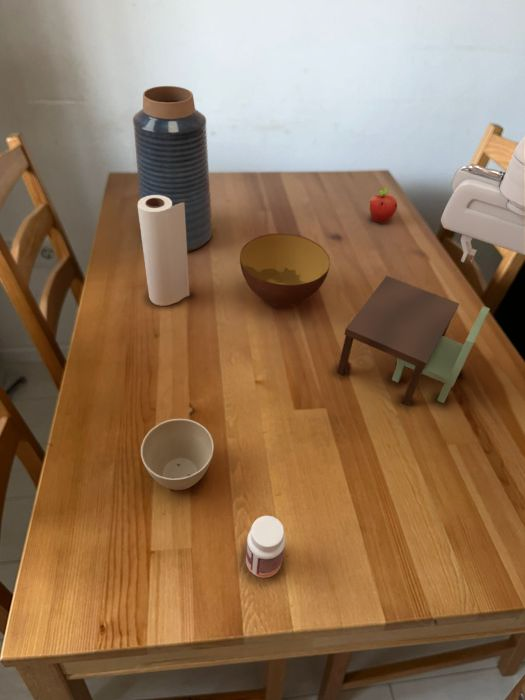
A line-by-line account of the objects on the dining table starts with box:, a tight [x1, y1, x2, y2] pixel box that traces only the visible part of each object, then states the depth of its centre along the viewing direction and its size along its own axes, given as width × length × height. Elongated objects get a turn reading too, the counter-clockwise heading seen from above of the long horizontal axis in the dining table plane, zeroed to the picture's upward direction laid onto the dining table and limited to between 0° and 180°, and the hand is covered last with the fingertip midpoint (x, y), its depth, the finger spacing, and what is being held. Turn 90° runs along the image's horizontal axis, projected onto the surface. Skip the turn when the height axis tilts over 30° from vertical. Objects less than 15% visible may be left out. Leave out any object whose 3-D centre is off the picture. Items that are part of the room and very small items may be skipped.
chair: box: [391, 305, 491, 404], centre depth 88 cm, size 10×10×15 cm
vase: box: [132, 85, 213, 252], centre depth 111 cm, size 16×16×32 cm
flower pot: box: [140, 418, 215, 491], centre depth 73 cm, size 10×10×7 cm
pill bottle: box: [245, 515, 286, 579], centre depth 65 cm, size 5×5×8 cm
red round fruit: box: [369, 188, 398, 224], centre depth 128 cm, size 8×7×10 cm
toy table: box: [336, 275, 460, 407], centre depth 92 cm, size 14×18×11 cm
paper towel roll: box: [137, 195, 190, 307], centre depth 97 cm, size 7×6×21 cm
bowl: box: [239, 232, 331, 308], centre depth 104 cm, size 18×18×10 cm
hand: (498, 272), depth 74 cm, fingers open, 8 cm apart
